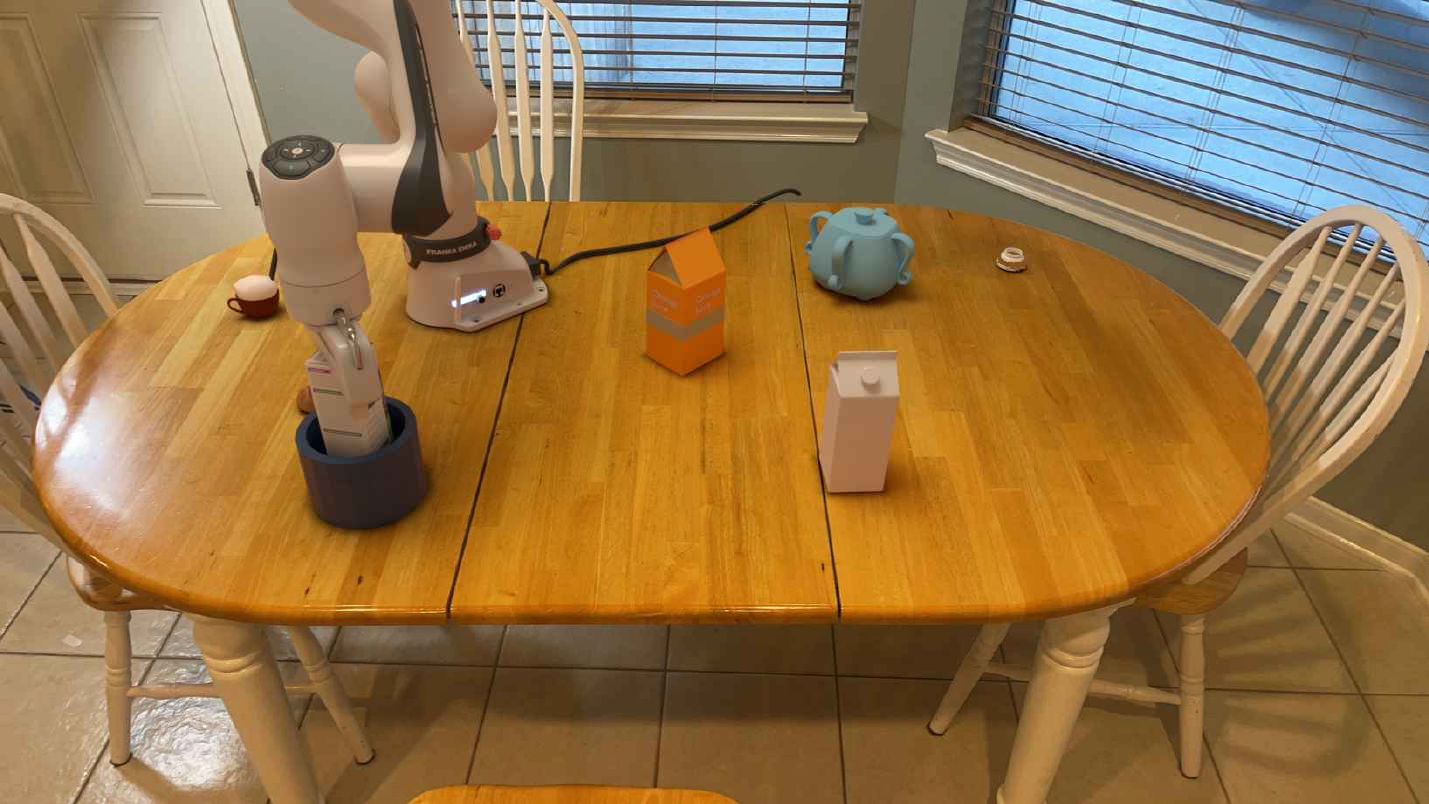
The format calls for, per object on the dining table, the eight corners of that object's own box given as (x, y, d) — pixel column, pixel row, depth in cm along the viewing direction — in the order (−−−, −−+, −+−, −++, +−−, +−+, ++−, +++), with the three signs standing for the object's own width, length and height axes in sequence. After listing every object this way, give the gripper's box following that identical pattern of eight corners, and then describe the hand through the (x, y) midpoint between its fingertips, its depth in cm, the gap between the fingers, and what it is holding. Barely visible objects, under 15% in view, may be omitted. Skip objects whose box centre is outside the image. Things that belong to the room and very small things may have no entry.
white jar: (1023, 261, 182) (994, 258, 183) (1026, 246, 181) (998, 243, 181) (1026, 274, 178) (997, 271, 179) (1029, 259, 177) (1000, 256, 177)
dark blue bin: (405, 445, 134) (394, 383, 128) (442, 504, 124) (432, 440, 119) (299, 479, 127) (282, 414, 122) (329, 544, 118) (313, 478, 112)
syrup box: (373, 470, 120) (352, 368, 111) (326, 463, 120) (302, 360, 112) (395, 441, 124) (376, 341, 116) (350, 434, 125) (328, 334, 117)
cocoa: (230, 325, 156) (210, 255, 149) (235, 304, 161) (216, 236, 154) (295, 319, 158) (279, 250, 151) (299, 299, 163) (283, 231, 156)
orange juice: (723, 354, 154) (728, 234, 143) (682, 376, 149) (684, 254, 137) (686, 334, 158) (688, 216, 147) (645, 356, 153) (644, 235, 141)
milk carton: (818, 458, 134) (833, 336, 123) (871, 457, 135) (890, 335, 124) (827, 493, 129) (844, 368, 118) (882, 492, 129) (904, 367, 118)
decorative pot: (890, 260, 181) (901, 189, 173) (913, 306, 168) (926, 230, 160) (800, 262, 180) (807, 190, 172) (816, 307, 166) (824, 232, 159)
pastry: (297, 422, 137) (291, 399, 135) (297, 395, 142) (292, 372, 140) (370, 411, 139) (365, 388, 137) (368, 385, 145) (363, 362, 142)
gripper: (386, 327, 104) (404, 435, 112) (330, 247, 118) (350, 347, 126) (323, 343, 101) (347, 453, 109) (273, 259, 115) (298, 361, 123)
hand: (348, 396), depth 117 cm, fingers closed on syrup box, 7 cm apart
